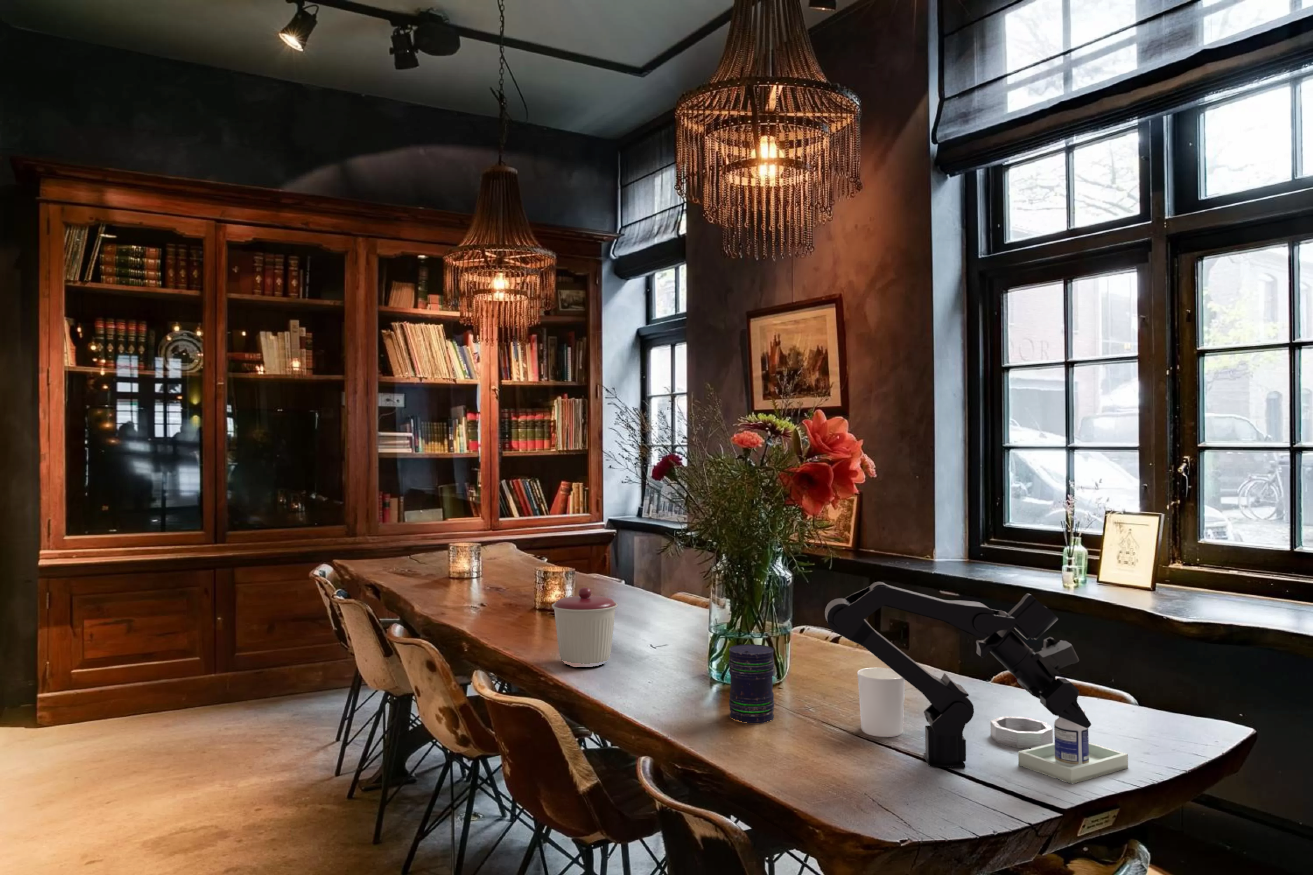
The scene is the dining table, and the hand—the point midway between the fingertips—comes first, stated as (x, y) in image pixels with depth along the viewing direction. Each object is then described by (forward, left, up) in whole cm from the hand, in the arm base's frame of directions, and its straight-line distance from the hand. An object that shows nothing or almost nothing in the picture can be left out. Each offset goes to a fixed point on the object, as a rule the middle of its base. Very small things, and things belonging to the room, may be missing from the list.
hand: (1080, 718), depth 165 cm
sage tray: (-1, 0, -9) cm, 9 cm away
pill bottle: (-2, 0, -8) cm, 9 cm away
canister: (-106, +70, -9) cm, 128 cm away
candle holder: (-33, +18, -9) cm, 39 cm away
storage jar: (-60, +25, -9) cm, 66 cm away
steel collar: (-6, +15, -9) cm, 19 cm away
